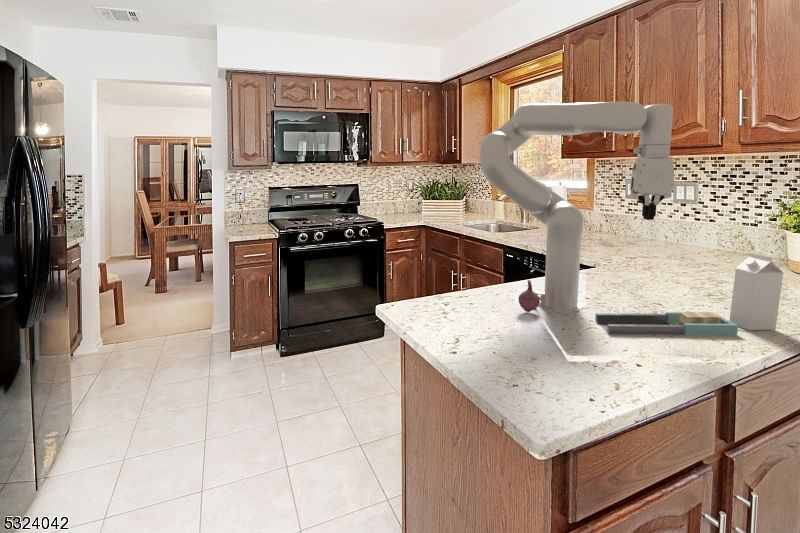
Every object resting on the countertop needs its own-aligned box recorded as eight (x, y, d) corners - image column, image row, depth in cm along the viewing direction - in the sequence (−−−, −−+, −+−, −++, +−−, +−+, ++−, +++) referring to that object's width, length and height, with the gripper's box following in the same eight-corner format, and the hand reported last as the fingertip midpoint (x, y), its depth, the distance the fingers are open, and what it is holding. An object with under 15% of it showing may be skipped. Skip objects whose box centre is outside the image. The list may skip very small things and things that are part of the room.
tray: (684, 338, 117) (686, 324, 117) (664, 324, 128) (665, 312, 127) (736, 339, 116) (738, 325, 116) (711, 325, 127) (713, 312, 126)
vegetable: (537, 310, 144) (538, 277, 142) (541, 316, 138) (542, 282, 136) (516, 309, 144) (517, 277, 142) (519, 315, 138) (520, 282, 136)
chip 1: (686, 332, 121) (687, 317, 120) (678, 327, 125) (679, 312, 124) (702, 332, 120) (704, 317, 119) (694, 327, 124) (696, 312, 123)
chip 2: (702, 332, 120) (704, 317, 120) (694, 327, 124) (695, 312, 124) (719, 332, 120) (721, 317, 119) (710, 327, 124) (712, 312, 123)
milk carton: (754, 321, 129) (763, 252, 125) (775, 330, 122) (786, 257, 118) (728, 322, 129) (737, 253, 125) (748, 331, 122) (757, 257, 118)
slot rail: (608, 337, 119) (609, 326, 118) (594, 323, 130) (595, 313, 129) (684, 338, 117) (685, 326, 117) (664, 324, 128) (665, 313, 128)
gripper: (630, 152, 128) (625, 221, 131) (689, 151, 126) (683, 220, 130) (620, 153, 135) (616, 218, 139) (676, 152, 134) (670, 217, 137)
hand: (648, 219), depth 134 cm, fingers closed
